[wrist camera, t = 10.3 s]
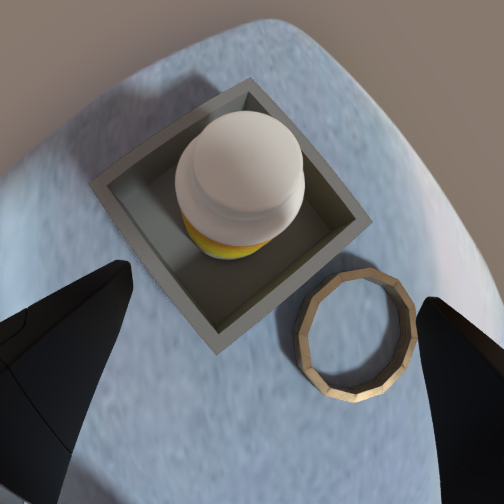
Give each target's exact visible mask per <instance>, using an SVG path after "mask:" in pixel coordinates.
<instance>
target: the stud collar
mask: <svg viewBox="0 0 504 504" xmlns="http://www.w3.org/2000/svg"><path fill="white" fill-rule="evenodd" d="M360 278H364V279H366V280H368V281H371V282H373V283H375V284H378V285H380V286H382V287H384V288H385V290H386V291H387V293H388V294H389V296H390V297H391V299H392V300H393V301H394V303H395V304H396V306H397V307H398V312H399V322H400V332H401V336H400V339H399V342H398V345H397V348H396V350H395V353H394V356H393V359H392V361H391V362H390V363H389V364H388V366H387V367H386V368H385V369H384V370H383V371H382V372H381V373H380V374H379V375H378V376H377V377H376V378H375V379H374V380H373V381H370V382H367V383H364V384H361V385H358V386H355V387H351V388H348V389H346V388H342V387H338V386H334V385H331V384H327V383H325V381H324V380H323V379H322V378H321V377H320V375H319V374H318V373H317V372H316V371H315V369H314V368H313V367H312V364H311V356H310V349H309V341H308V332H309V330H310V327H311V325H312V322H313V319H314V316H315V314H316V311H317V308H318V306H319V303H320V302H321V301H322V300H323V299H325V298H326V297H327V296H328V295H329V294H330V293H331V292H332V291H333V290H335V289H336V288H337V287H338V286H339V285H340V284H341V283H342V282H344V281H350V280H355V279H360ZM305 297H306V298H304V301H303V303H302V306H301V309H300V311H299V314H298V317H297V319H296V322H295V325H294V327H293V330H292V331H293V332H292V334H293V341H294V348H295V355H296V363H297V366H298V367H299V369H300V370H301V371H302V372H303V373H304V374H305V376H306V377H307V378H308V379H309V380H310V381H311V383H312V384H313V385H314V386H315V387H316V388H317V389H318V390H319V391H320V392H321V393H322V394H323V395H325V396H329V397H333V398H337V399H341V400H345V401H349V402H353V403H354V402H358V401H361V400H364V399H367V398H370V397H373V396H376V395H379V394H382V393H384V392H385V391H386V390H387V389H388V388H389V387H390V386H391V385H392V384H393V383H394V382H395V381H396V380H397V379H398V378H399V377H400V376H401V375H402V374H403V373H404V371H405V370H406V368H407V367H408V365H409V362H410V359H411V356H412V353H413V351H414V348H415V345H416V342H417V339H418V338H417V337H418V336H417V329H416V310H415V306H414V305H415V304H414V303H413V301H412V300H411V298H410V297H409V295H408V293H407V292H406V290H405V289H404V287H403V286H402V284H401V283H400V281H399V280H398V279H396V278H394V277H392V276H389V275H387V274H385V273H383V272H381V271H378V270H376V269H374V268H372V267H370V268H362V269H356V270H351V271H345V272H340V273H334V274H330V275H329V276H328V277H327V278H326V279H325V280H324V281H323V282H321V283H320V284H319V285H318V286H317V287H316V288H315V289H313V290H312V291H311V292H310V293H309V294H308V295H307V296H305Z"/></svg>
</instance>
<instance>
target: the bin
mask: <svg viewBox="0 0 504 504" xmlns="http://www.w3.org/2000/svg"><path fill="white" fill-rule="evenodd" d="M237 111H254V112H259V113H263V114H266V115H269V116H271V117H273V118H275V119H277V120H278V121H280V122H281V123H282V124H284V125H285V126H286V127H287V128H288V129H289V130H290V131H291V133H292V134H293V135H294V137H295V138H296V140H297V142H298V144H299V146H300V149H301V153H302V157H303V173H304V180H305V190H304V197H303V201H302V204H301V207H300V209H299V211H298V213H297V215H296V217H295V218H294V220H293V221H292V222H291V223H290V224H289V226H288V227H287V228H286V229H285V230H284V231H282V232H281V233H280V234H278V235H277V236H276V237H274V238H273V239H272V240H271V241H269V242H268V243H266V244H265V245H264V246H262V247H261V248H259V249H258V250H257V251H256V252H254V253H252V254H251V255H249V256H247V257H244V258H241V259H237V260H221V259H216V258H213V257H211V256H209V255H207V254H205V253H204V252H202V251H201V250H200V249H199V248H198V247H197V246H196V245H195V244H194V243H193V241H192V240H191V238H190V237H189V235H188V232H187V230H186V227H185V223H184V220H183V217H182V213H181V210H180V206H179V203H178V200H177V195H176V188H175V175H176V170H177V166H178V163H179V160H180V158H181V156H182V154H183V152H184V150H185V149H186V148H187V146H188V145H189V144H190V142H191V141H192V140H193V139H194V138H196V137H197V136H198V135H199V134H201V132H202V131H203V130H204V129H205V127H206V126H208V125H209V124H210V123H211V122H212V121H214V120H215V119H217V118H219V117H221V116H223V115H225V114H228V113H231V112H237ZM89 185H90V187H91V188H92V190H93V191H94V193H95V195H96V196H97V198H98V199H99V201H100V202H101V204H102V205H103V207H104V208H105V210H106V211H107V213H108V214H109V216H110V217H111V219H112V220H113V222H114V223H115V225H116V226H117V227H118V229H119V230H120V232H121V233H122V235H123V236H124V237H125V239H126V240H127V242H128V243H129V245H130V246H131V247H132V249H133V250H134V252H135V253H136V254H137V256H138V257H139V258H140V260H141V261H142V263H143V264H144V265H145V267H146V268H147V269H148V271H149V272H150V273H151V275H152V276H153V277H154V279H155V280H156V281H157V283H158V284H159V285H160V287H161V288H162V289H163V291H164V292H165V293H166V294H167V296H168V297H169V298H170V300H171V301H172V302H173V303H174V305H175V306H176V307H177V308H178V310H179V311H180V312H181V313H182V315H183V316H184V317H185V318H186V320H187V321H188V322H189V323H190V325H191V326H192V327H193V328H194V330H195V331H196V332H197V333H198V334H199V336H200V337H201V338H202V339H203V340H204V342H205V343H206V344H207V345H208V346H209V347H210V349H211V350H212V351H213V352H214V353H215V355H216V356H217V355H218V354H219V353H220V352H222V351H223V350H224V349H225V348H227V347H228V346H229V345H231V344H232V343H233V342H234V341H236V340H237V339H238V338H239V337H240V336H242V335H243V334H244V333H245V332H247V331H248V330H249V329H250V328H252V327H253V326H254V325H255V324H257V323H258V322H259V321H260V320H261V319H263V318H264V317H265V316H266V315H267V314H269V313H270V312H271V311H272V310H273V309H275V308H276V307H277V306H278V305H279V304H281V303H282V302H283V301H284V300H285V299H287V298H288V297H289V296H290V295H291V294H292V293H294V292H295V291H296V290H297V289H298V288H299V287H301V286H302V285H303V284H304V283H305V282H306V281H308V280H309V279H310V278H311V277H312V276H313V275H315V274H316V273H317V272H318V271H319V270H320V269H321V268H323V267H324V266H325V265H326V264H327V263H328V262H329V261H330V260H332V259H333V258H334V257H335V256H336V255H337V254H338V253H339V252H341V251H342V250H343V249H344V248H345V247H346V246H347V245H348V244H349V243H351V242H352V241H353V240H354V239H355V238H356V237H357V236H358V235H359V234H360V233H361V232H363V231H364V230H365V229H366V228H367V227H368V226H369V225H370V224H371V223H372V220H371V219H370V217H369V216H368V215H367V213H366V212H365V211H364V209H363V208H362V207H361V205H360V204H359V203H358V201H357V200H356V199H355V197H354V196H353V195H352V193H351V192H350V191H349V190H348V188H347V187H346V186H345V184H344V183H343V182H342V181H341V179H340V178H339V177H338V175H337V174H336V173H335V172H334V170H333V169H332V168H331V167H330V166H329V164H328V163H327V162H326V161H325V159H324V158H323V157H322V156H321V155H320V153H319V152H318V151H317V150H316V149H315V147H314V146H313V145H312V144H311V143H310V142H309V140H308V139H307V138H306V137H305V136H304V135H303V133H302V132H301V131H300V130H299V129H298V128H297V127H296V125H295V124H294V123H293V122H292V121H291V120H290V119H289V118H288V116H287V115H286V114H285V113H284V112H283V111H282V110H281V109H280V108H279V107H278V106H277V104H276V103H275V102H274V101H273V100H272V99H271V98H270V97H269V96H268V95H267V94H266V93H265V92H264V91H263V90H262V89H261V87H260V86H259V85H258V84H257V83H256V82H255V81H254V80H253V79H252V78H251V77H250V78H248V79H246V80H245V81H243V82H241V83H239V84H237V85H235V86H233V87H232V88H230V89H228V90H226V91H224V92H223V93H221V94H219V95H217V96H216V97H214V98H212V99H210V100H209V101H207V102H205V103H204V104H202V105H200V106H199V107H197V108H195V109H194V110H192V111H190V112H189V113H187V114H186V115H184V116H182V117H181V118H179V119H178V120H176V121H175V122H173V123H171V124H170V125H168V126H167V127H165V128H164V129H162V130H161V131H159V132H158V133H156V134H155V135H153V136H152V137H151V138H149V139H148V140H146V141H145V142H143V143H142V144H140V145H139V146H138V147H136V148H135V149H133V150H132V151H131V152H129V153H128V154H127V155H125V156H124V157H122V158H121V159H120V160H118V161H117V162H116V163H114V164H113V165H112V166H110V167H109V168H108V169H107V170H105V171H104V172H103V173H101V174H100V175H99V176H98V177H96V178H95V179H94V180H93V181H91V182H90V183H89Z"/></svg>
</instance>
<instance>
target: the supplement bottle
mask: <svg viewBox="0 0 504 504" xmlns="http://www.w3.org/2000/svg"><path fill="white" fill-rule="evenodd" d="M175 188H176V195H177V200H178V203H179V206H180V210H181V213H182V217H183V220H184V223H185V227H186V230H187V232H188V235H189V237H190V238H191V240H192V241H193V243H194V244H195V245H196V246H197V247H198V248H199V249H200V250H201V251H202V252H204V253H205V254H207V255H209V256H211V257H213V258H216V259H221V260H237V259H241V258H244V257H247V256H249V255H251V254H252V253H254V252H256V251H257V250H258V249H259V248H261V247H262V246H264V245H265V244H266V243H268V242H269V241H271V240H272V239H273V238H274V237H276V236H277V235H278V234H280V233H281V232H282V231H284V230H285V229H286V228H287V227H288V226H289V224H290V223H291V222H292V221H293V220H294V218H295V217H296V215H297V213H298V211H299V209H300V207H301V204H302V201H303V197H304V190H305V180H304V173H303V157H302V153H301V149H300V146H299V144H298V142H297V140H296V138H295V137H294V135H293V134H292V133H291V131H290V130H289V129H288V128H287V127H286V126H285V125H284V124H282V123H281V122H280V121H278V120H277V119H275V118H273V117H271V116H269V115H266V114H263V113H259V112H254V111H237V112H231V113H228V114H225V115H223V116H221V117H219V118H217V119H215V120H214V121H212V122H211V123H210V124H209V125H208V126H206V127H205V129H204V130H203V131H202V132H201V134H199V135H198V136H197V137H196V138H194V139H193V140H192V141H191V142H190V144H189V145H188V146H187V148H186V149H185V150H184V152H183V154H182V156H181V158H180V160H179V163H178V166H177V170H176V175H175Z"/></svg>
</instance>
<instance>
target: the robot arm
mask: <svg viewBox="0 0 504 504" xmlns="http://www.w3.org/2000/svg"><path fill="white" fill-rule="evenodd" d="M132 292H133V278H132V271H131V265H130V263H129V262H128V261H124V260H115V261H113V262H111V263H109V264H107V265H105V266H103V267H101V268H99V269H97V270H95V271H93V272H92V273H90V274H88V275H86V276H84V277H82V278H80V279H78V280H76V281H74V282H73V283H71V284H69V285H67V286H65V287H63V288H61V289H60V290H58V291H56V292H54V293H52V294H50V295H49V296H47V297H45V298H43V299H41V300H39V301H38V302H36V303H34V304H32V305H30V306H29V307H28V309H27V308H25V309H23V310H22V311H20V312H18V313H16V314H15V315H13V316H11V317H9V318H7V319H5V320H4V321H2V322H0V504H24V501H25V502H26V503H28V504H57V502H58V498H59V495H60V491H61V488H62V485H63V481H64V478H65V475H66V472H67V469H68V466H69V462H70V459H71V456H72V455H71V454H72V453H73V450H74V447H75V444H76V441H77V438H78V435H79V433H80V430H81V427H82V424H83V422H84V419H85V416H86V413H87V411H88V408H89V405H90V403H91V400H92V398H93V395H94V393H95V390H96V387H97V385H98V382H99V380H100V377H101V375H102V373H103V370H104V368H105V365H106V363H107V361H108V358H109V356H110V353H111V351H112V349H113V346H114V344H115V342H116V340H117V337H118V335H119V332H120V329H121V326H122V323H123V320H124V316H125V313H126V310H127V307H128V304H129V301H130V298H131V295H132ZM416 329H417V336H418V343H419V350H420V358H421V365H422V370H423V374H424V379H425V384H426V389H427V394H428V399H429V404H430V410H431V416H432V422H433V428H434V434H435V441H436V449H437V457H438V465H439V475H440V481H441V482H440V488H441V502H442V504H504V349H503V348H501V347H500V346H499V345H498V344H497V343H495V342H494V341H493V340H492V339H491V338H489V337H488V336H487V335H486V334H485V333H483V332H482V331H481V330H480V329H478V328H477V327H476V326H475V325H473V324H472V323H471V322H470V321H468V320H467V319H466V318H465V317H463V316H462V315H461V314H460V313H458V312H457V311H456V310H454V309H453V308H452V307H451V306H449V305H448V304H447V303H445V302H444V301H443V300H441V299H440V298H438V297H430V296H429V297H427V298H426V299H425V300H424V302H423V304H422V306H421V308H420V310H419V312H418V314H417V317H416Z"/></svg>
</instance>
